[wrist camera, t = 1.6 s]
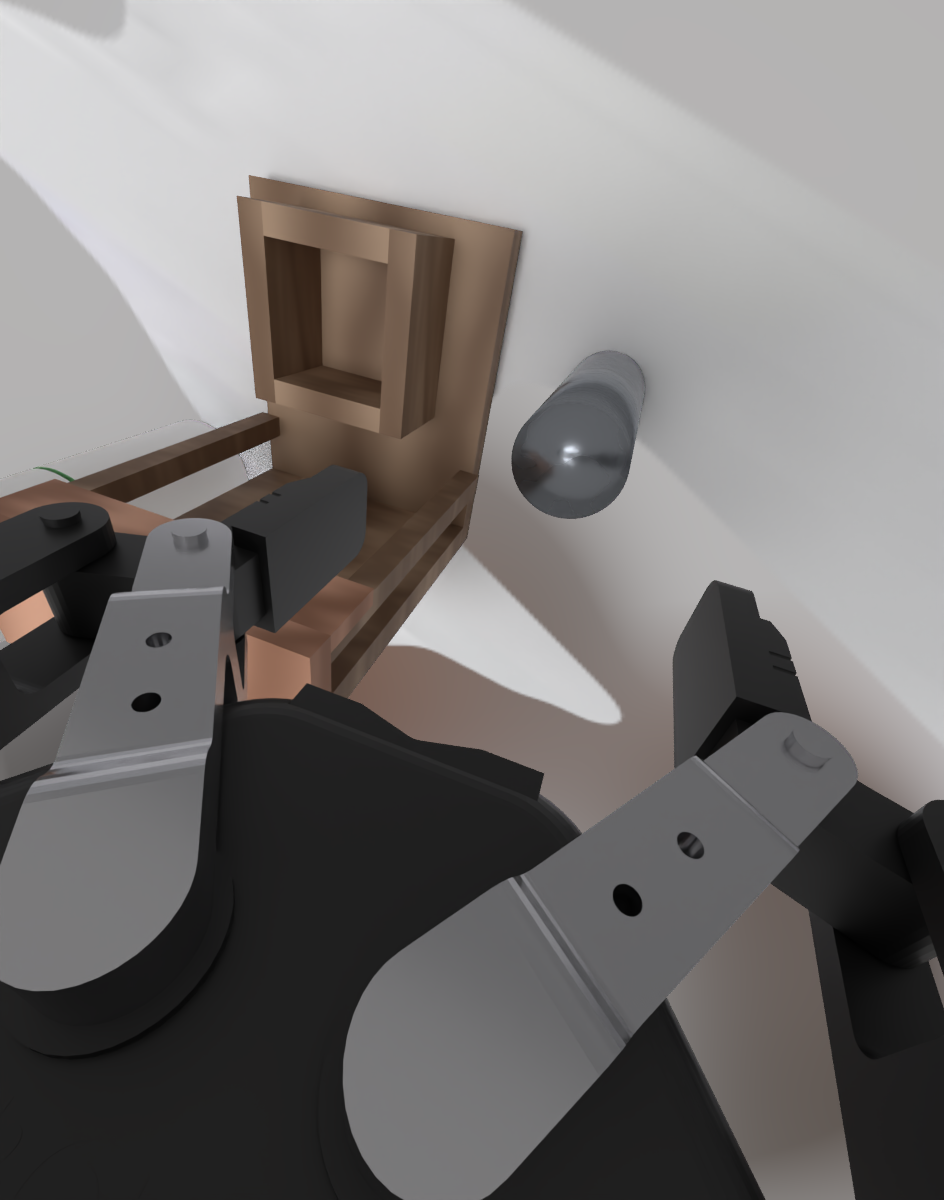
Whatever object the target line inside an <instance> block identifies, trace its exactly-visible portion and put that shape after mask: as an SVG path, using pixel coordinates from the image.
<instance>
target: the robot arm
mask: <svg viewBox="0 0 944 1200" xmlns="http://www.w3.org/2000/svg"><path fill="white" fill-rule="evenodd" d="M366 511H367V478H366V476H365V474H363V473H361V472H358V471H354V470H351V469H348V468H344V467H341V466H338V465H331V466H329V467H327V468H325V469H324V470H322V471H321V472H319V473H317V474H316V475H314V476H312V477H311V478H306V479H302V480H298V481H294V482H290V483H287V484H285V485H283V486H282V487H280V488H278V489H276V490H275V491H273V492H272V494H268V495H266V496H264V497H263V498H261V499H260V501H256V502H254V503H252V504H251V505H249V506H247V507H245V508H244V509H242V510H240V511H239V512H237V513H235V514H233V515H232V516H230V517H228V518H227V519H225V520H223V521H221V522H218V521H215V520H210V519H204V518H186V519H178V520H174V521H170V522H167V523H164V524H162V525H160V526H158V527H156V528H154V529H153V530H152V531H151V532H150V533H149V534H148V536H144V535H136V534H127V533H119V532H114V529H113V526H112V523H111V520H110V516H109V514H108V512H107V511H106V510H105V509H104V508H102V507H100V506H97V505H94V504H90V503H83V502H63V503H54V504H49V505H44V506H40V507H37V508H34V509H31V510H29V511H26V512H24V513H22V514H19V515H17V516H15V517H12V518H10V519H8V520H5V521H3V522H1V523H0V615H1V614H3V613H4V612H6V611H7V610H9V609H11V608H13V607H14V606H16V605H18V604H20V603H21V602H23V601H25V600H27V599H28V598H30V597H32V596H34V595H35V594H37V593H39V592H41V591H42V590H43V593H44V595H45V597H46V599H47V602H48V604H49V606H50V608H51V611H52V613H53V615H54V617H53V618H51V619H49V620H48V621H46V622H45V623H43V624H41V625H40V626H38V627H37V628H35V629H33V630H32V631H30V632H29V633H27V634H26V635H24V636H22V637H21V638H19V639H18V640H16V641H14V642H13V643H11V644H10V645H8V646H7V647H5V648H3V649H2V650H0V750H1V749H2V748H3V747H4V746H6V745H7V744H8V743H9V742H11V741H12V740H13V739H15V738H16V737H17V736H18V735H20V734H21V733H22V732H24V731H25V730H26V729H27V728H29V727H30V726H31V725H33V724H34V723H35V722H36V721H38V720H39V719H40V718H41V717H43V716H44V715H45V714H46V713H48V712H49V711H50V710H51V709H53V708H54V707H55V706H57V705H58V704H59V703H60V702H62V701H63V700H64V699H65V698H67V697H68V696H69V695H71V694H72V693H73V692H74V691H76V690H77V689H78V688H79V690H78V693H77V696H76V699H75V702H74V705H73V708H72V711H71V714H70V717H69V720H68V723H67V726H66V729H65V732H64V735H63V738H62V741H61V744H60V747H59V750H58V753H57V756H56V759H55V761H54V763H52V764H49V765H46V766H43V767H41V768H37V769H34V770H32V771H29V772H26V773H23V774H20V775H17V776H14V777H11V778H8V779H5V780H2V781H0V1200H765V1198H764V1196H763V1194H762V1192H761V1190H760V1188H759V1186H758V1183H757V1181H756V1179H755V1177H754V1175H753V1173H752V1171H751V1169H750V1167H749V1165H748V1163H747V1161H746V1159H745V1157H744V1155H743V1153H742V1151H741V1149H740V1147H739V1145H738V1143H737V1140H736V1138H735V1137H734V1135H733V1132H732V1131H731V1128H730V1127H729V1124H728V1122H727V1120H726V1118H725V1116H724V1114H723V1112H722V1110H721V1108H720V1106H719V1104H718V1102H717V1100H716V1097H715V1095H714V1094H713V1091H712V1089H711V1087H710V1085H709V1083H708V1081H707V1079H706V1077H705V1075H704V1073H703V1071H702V1069H701V1067H700V1065H699V1063H698V1061H697V1059H696V1057H695V1055H694V1053H693V1050H692V1049H691V1046H690V1044H689V1042H688V1040H687V1038H686V1036H685V1034H684V1032H683V1030H682V1028H681V1026H680V1024H679V1022H678V1020H677V1018H676V1016H675V1014H674V1012H673V1010H672V1008H671V1006H670V1003H669V1001H668V999H667V998H666V997H667V996H668V995H669V994H670V993H671V992H672V991H673V990H674V988H676V986H677V985H678V984H679V983H680V982H681V981H682V980H683V979H684V978H685V976H686V975H687V974H688V973H689V972H690V971H691V970H692V969H693V968H694V967H695V965H696V964H697V963H698V962H699V961H700V960H701V959H702V958H703V957H704V956H705V954H706V953H707V952H708V951H709V950H710V949H711V948H712V947H713V946H714V944H715V943H716V942H717V941H718V940H719V939H720V938H721V937H722V936H723V935H724V934H725V932H726V931H727V930H728V929H729V928H730V927H731V926H732V925H733V924H734V923H735V921H736V920H737V919H738V918H739V917H740V916H741V915H742V914H743V913H744V911H745V910H746V909H747V908H748V907H749V906H750V905H751V904H752V903H753V901H755V899H756V898H757V897H758V896H759V895H760V894H761V893H762V892H763V891H764V889H765V888H766V887H767V886H768V885H769V884H770V883H771V884H772V885H773V886H775V887H777V888H778V889H779V890H781V891H782V892H784V893H785V894H787V895H788V896H789V897H791V898H792V899H794V900H795V901H797V902H798V903H799V904H801V905H802V906H804V907H805V908H807V909H808V910H809V916H810V921H811V928H812V934H813V940H814V947H815V952H816V959H817V965H818V971H819V977H820V983H821V990H822V996H823V1002H824V1008H825V1014H826V1021H827V1027H828V1033H829V1039H830V1045H831V1051H832V1057H833V1064H834V1070H835V1076H836V1082H837V1088H838V1094H839V1101H840V1107H841V1113H842V1119H843V1125H844V1132H845V1138H846V1144H847V1150H848V1156H849V1162H850V1169H851V1175H852V1181H853V1187H854V1193H855V1199H856V1200H944V1008H943V1005H942V1002H941V999H940V996H939V993H938V990H937V987H936V983H935V980H934V977H933V974H932V971H931V968H930V965H929V962H928V961H929V960H931V959H933V958H935V957H937V958H938V961H939V963H940V966H941V969H942V972H943V975H944V800H934V801H931V802H929V803H927V804H926V805H924V806H923V807H922V808H921V809H919V810H918V811H917V812H915V813H912V812H911V811H909V810H907V809H905V808H904V807H902V806H900V805H898V804H897V803H895V802H893V801H891V800H890V799H888V798H886V797H884V796H883V795H881V794H879V793H877V792H875V791H874V790H872V789H870V788H869V787H867V786H865V785H864V784H862V783H861V782H859V781H858V780H857V778H858V772H857V768H856V764H855V762H854V760H853V758H852V757H851V755H850V754H849V752H848V751H847V750H846V748H845V747H844V746H843V745H842V744H841V743H840V742H839V741H838V740H837V739H836V738H835V737H834V736H832V735H831V734H830V733H829V732H827V731H826V730H825V729H823V728H822V727H820V726H818V725H817V724H815V723H813V722H812V721H811V718H810V714H809V711H808V708H807V705H806V702H805V698H804V695H803V692H802V689H801V686H800V683H799V680H798V677H797V676H795V675H796V670H795V667H794V664H793V662H792V661H791V654H790V651H789V648H788V645H787V642H786V640H785V639H784V637H783V636H782V635H781V634H780V632H779V631H778V630H777V629H776V628H775V627H774V625H773V624H772V623H771V622H770V621H767V620H763V619H761V618H760V616H759V612H758V609H757V605H756V601H755V597H754V594H753V592H752V591H750V590H746V589H743V588H740V587H736V586H733V585H729V584H726V583H723V582H719V581H715V580H714V581H713V582H711V584H710V585H709V586H708V587H707V589H706V591H705V592H704V594H703V596H702V598H701V600H700V601H699V603H698V605H697V607H696V609H695V610H694V612H693V614H692V616H691V618H690V619H689V621H688V623H687V625H686V627H685V629H684V630H683V632H682V634H681V636H680V638H679V640H678V642H677V645H676V648H675V652H674V656H673V708H674V767H675V769H674V770H672V771H671V772H669V773H668V774H667V775H665V776H664V777H662V778H661V779H660V780H658V781H657V782H655V783H654V784H652V785H651V786H650V787H648V788H647V789H645V790H644V791H642V792H641V793H640V794H638V795H637V796H636V797H634V798H633V799H631V800H630V801H628V802H627V803H625V804H624V805H623V806H621V807H620V808H618V809H617V810H616V811H614V812H613V813H611V814H610V815H608V816H607V817H606V818H604V819H603V820H601V821H600V822H598V823H597V824H596V825H594V826H593V827H591V828H590V829H588V830H587V831H586V832H584V833H583V834H582V833H581V832H580V830H579V829H578V828H577V827H576V825H575V824H574V823H573V822H572V821H571V820H570V819H569V818H568V817H567V816H566V815H565V814H564V813H563V812H562V811H561V810H560V809H559V808H558V807H556V806H555V805H554V804H553V803H552V802H551V801H549V800H548V799H546V798H545V797H543V796H542V795H540V794H539V793H540V788H541V784H542V780H543V776H544V773H542V772H539V771H536V770H534V769H531V768H528V767H526V766H523V765H520V764H518V763H515V762H513V761H510V760H507V759H505V758H502V757H500V756H497V755H494V754H492V753H489V752H486V751H483V750H480V749H472V748H466V747H460V746H453V745H446V744H439V743H433V742H426V741H420V740H416V739H413V738H411V737H409V736H407V735H406V734H405V733H403V732H402V731H400V730H399V729H397V728H396V727H394V726H393V725H392V724H390V723H388V722H387V721H386V720H384V719H383V718H381V717H380V716H378V715H377V714H376V713H374V712H373V711H371V710H370V709H368V708H367V707H365V706H364V705H362V704H361V703H358V702H355V701H353V700H350V699H347V698H345V697H342V696H340V695H337V694H334V693H332V692H329V691H326V690H324V689H321V688H319V687H316V686H313V685H311V684H308V683H306V684H305V686H304V687H303V688H302V689H301V690H300V692H299V693H298V694H297V695H296V696H295V697H294V699H284V698H262V699H252V700H247V667H248V642H247V635H246V632H247V631H248V630H249V629H250V628H251V627H252V626H256V627H259V628H262V629H264V630H267V631H270V632H272V633H276V632H277V631H278V630H279V629H280V628H281V627H282V626H284V625H285V624H286V623H287V622H288V621H289V620H290V619H291V618H292V617H293V616H294V615H295V614H296V613H297V612H298V611H299V610H300V609H301V608H303V607H304V606H305V605H306V604H307V603H308V602H309V601H310V600H311V599H312V598H313V597H314V596H315V595H316V594H317V593H318V592H319V591H320V590H322V589H323V588H324V587H325V586H326V585H327V584H328V583H329V582H330V581H331V580H332V579H333V578H334V577H335V576H336V575H337V574H338V573H339V572H340V571H342V570H343V569H344V568H345V567H346V566H347V565H348V564H349V563H350V562H351V561H352V560H353V559H354V558H355V557H356V556H357V555H358V554H359V552H360V550H361V548H362V546H363V543H364V539H365V534H366Z"/></svg>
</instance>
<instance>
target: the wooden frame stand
mask: <svg viewBox="0 0 944 1200" xmlns="http://www.w3.org/2000/svg"><path fill="white" fill-rule="evenodd" d="M249 185H250V197H251V198H247V197H241V196H237V203H238V214H239V224H240V235H241V246H242V256H243V267H244V277H245V288H246V298H247V309H248V319H249V330H250V340H251V351H252V361H253V372H254V383H255V393H256V398H259V399H262V400H266V401H267V405H268V414H267V413H264V412H262V413H259V414H257V415H254V416H251V417H248V418H245V419H243V420H240V421H237V422H234V423H232V424H229V425H226V426H223V427H221V428H218V429H215V430H212V431H210V432H207V433H204V434H201V435H198V436H196V437H193V438H190V439H187V440H185V441H182V442H179V443H176V444H174V445H171V446H168V447H165V448H163V449H160V450H157V451H154V452H151V453H149V454H146V455H143V456H140V457H138V458H135V459H132V460H129V461H127V462H124V463H121V464H118V465H115V466H113V467H110V468H107V469H104V470H102V471H99V472H96V473H93V474H91V475H88V476H85V477H82V478H80V479H77V480H74V481H71V482H68V483H66V482H63V481H60V480H57V479H53V480H50V481H47V482H44V483H41V484H38V485H35V486H32V487H30V488H27V489H24V490H21V491H18V492H15V493H12V494H9V495H7V496H4V497H1V498H0V523H1V522H3V521H5V520H8V519H10V518H12V517H15V516H17V515H19V514H22V513H24V512H26V511H29V510H31V509H34V508H37V507H40V506H44V505H49V504H54V503H63V502H83V503H90V504H94V505H97V506H100V507H102V508H104V509H105V510H106V511H107V512H108V514H109V516H110V520H111V523H112V526H113V529H114V532H119V533H127V534H136V535H144V536H148V534H149V533H150V532H151V531H152V530H153V529H154V528H156V527H158V526H160V525H162V524H164V523H167V522H170V521H174V520H178V519H186V518H204V519H210V520H215V521H218V522H221V521H223V520H225V519H227V518H228V517H230V516H232V515H233V514H235V513H237V512H239V511H240V510H242V509H244V508H245V507H247V506H249V505H251V504H252V503H254V502H256V501H260V499H261V498H263V497H264V496H266V495H268V494H272V492H273V491H275V490H276V489H278V488H280V487H282V486H283V485H285V484H287V483H290V482H294V481H298V480H302V479H306V478H311V477H312V476H314V475H316V474H317V473H319V472H321V471H322V470H324V469H325V468H327V467H329V466H331V465H338V466H341V467H344V468H348V469H351V470H354V471H358V472H361V473H363V474H365V476H366V478H367V511H366V534H365V539H364V543H363V546H362V548H361V550H360V552H359V554H358V555H357V556H356V557H355V558H354V559H353V560H352V561H351V562H350V563H349V564H348V565H347V566H346V567H345V568H344V569H343V570H342V571H340V572H339V573H338V574H337V575H336V576H335V577H334V578H333V579H332V580H331V581H330V582H329V583H328V584H327V585H326V586H325V587H324V588H323V589H322V590H320V591H319V592H318V593H317V594H316V595H315V596H314V597H313V598H312V599H311V600H310V601H309V602H308V603H307V604H306V605H305V606H304V607H303V608H301V609H300V610H299V611H298V612H297V613H296V614H295V615H294V616H293V617H292V618H291V619H290V620H289V621H288V622H287V623H286V624H285V625H284V626H282V627H281V628H280V629H279V630H278V631H277V632H276V633H272V632H270V631H267V630H264V629H262V628H259V627H256V626H252V627H251V628H250V629H249V630H248V631H247V632H246V635H247V642H248V667H247V700H252V699H262V698H284V699H294V697H295V696H296V695H297V694H298V693H299V692H300V690H301V689H302V688H303V687H304V686H305V684H306V683H308V684H311V685H313V686H316V687H319V688H321V689H324V690H326V691H329V692H332V693H334V694H337V695H340V696H342V697H345V698H348V697H349V696H350V694H351V693H352V692H353V690H354V689H355V688H356V686H357V685H358V684H359V682H360V681H361V680H362V678H363V677H364V676H365V674H366V673H367V672H368V670H369V669H370V667H371V666H372V665H373V663H374V662H375V661H376V659H377V658H378V657H379V655H380V654H381V653H382V651H383V650H384V649H385V647H386V646H387V645H388V643H389V642H390V641H391V639H392V638H393V637H394V635H395V634H396V633H397V631H398V630H399V629H400V627H401V626H402V625H403V623H404V622H405V621H406V619H407V618H408V616H409V615H410V614H411V612H412V611H413V610H414V608H415V607H416V606H417V604H418V603H419V602H420V600H421V599H422V598H423V596H424V595H425V594H426V592H427V591H428V590H429V588H430V587H431V586H432V584H433V583H434V582H435V580H436V579H437V578H438V576H439V575H440V574H441V572H442V571H443V569H444V568H445V567H446V565H447V564H448V563H449V561H450V560H451V559H452V557H453V556H454V555H455V553H456V552H457V551H458V549H459V548H460V547H461V545H462V544H463V543H464V541H465V540H466V538H467V535H468V530H469V524H470V518H471V513H472V508H473V502H474V497H475V494H476V488H477V483H478V477H479V475H478V474H479V469H480V463H481V457H482V453H483V447H484V442H485V436H486V430H487V425H488V419H489V413H490V408H491V403H492V397H493V392H494V386H495V381H496V375H497V370H498V364H499V359H500V353H501V348H502V342H503V337H504V331H505V326H506V320H507V315H508V309H509V304H510V298H511V293H512V287H513V282H514V276H515V271H516V265H517V260H518V254H519V249H520V243H521V238H522V232H523V231H519V230H514V229H509V228H504V227H500V226H495V225H490V224H485V223H480V222H475V221H470V220H465V219H461V218H456V217H451V216H446V215H441V214H436V213H431V212H426V211H422V210H417V209H412V208H407V207H402V206H397V205H392V204H387V203H383V202H378V201H373V200H368V199H363V198H358V197H353V196H348V195H344V194H339V193H334V192H329V191H324V190H319V189H314V188H309V187H305V186H300V185H295V184H290V183H285V182H280V181H275V180H270V179H266V178H261V177H256V176H251V175H249ZM269 440H270V441H271V453H272V466H273V468H272V469H270V470H268V471H267V472H265V473H263V474H261V475H259V476H257V477H255V478H253V479H251V480H249V481H247V482H245V483H243V484H241V485H239V486H237V487H235V488H233V489H231V490H229V491H227V492H225V493H224V494H222V495H220V496H218V497H216V498H214V499H212V500H210V501H208V502H206V503H204V504H202V505H200V506H198V507H196V508H194V509H192V510H190V511H188V512H186V513H184V514H182V515H181V516H179V517H177V518H175V519H170V518H167V517H165V516H162V515H159V514H156V513H153V512H150V511H147V510H144V509H141V508H138V507H135V506H133V505H130V504H127V502H130V501H132V500H134V499H136V498H139V497H141V496H143V495H146V494H148V493H150V492H152V491H155V490H157V489H159V488H162V487H164V486H166V485H168V484H171V483H173V482H175V481H178V480H180V479H182V478H184V477H187V476H189V475H191V474H194V473H196V472H198V471H200V470H203V469H205V468H207V467H210V466H212V465H214V464H216V463H219V462H221V461H223V460H226V459H228V458H230V457H232V456H235V455H237V454H239V453H242V452H244V451H246V450H248V449H251V448H253V447H255V446H258V445H260V444H262V443H264V442H267V441H269ZM53 617H54V615H53V613H52V611H51V608H50V606H49V604H48V602H47V599H46V597H45V595H44V593H43V590H42V591H41V592H39V593H37V594H35V595H34V596H32V597H30V598H28V599H27V600H25V601H23V602H21V603H20V604H18V605H16V606H14V607H13V608H11V609H9V610H7V611H6V612H4V613H3V614H1V615H0V630H1V632H2V633H3V635H4V637H5V639H6V641H7V642H9V643H13V642H14V641H16V640H18V639H19V638H21V637H22V636H24V635H26V634H27V633H29V632H30V631H32V630H33V629H35V628H37V627H38V626H40V625H41V624H43V623H45V622H46V621H48V620H49V619H51V618H53Z"/></svg>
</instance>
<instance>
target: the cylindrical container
mask: <svg viewBox="0 0 944 1200" xmlns="http://www.w3.org/2000/svg"><path fill="white" fill-rule="evenodd" d="M212 430H215V428H213V427H212V426H210V425H208V424H207V423H204V422H201V421H198V420H191V419H190V420H183V421H180V422H176V423H173V424H170V425H167V426H164V427H161V428H158V429H154V430H151V431H148V432H145V433H142V434H139V435H136V436H133V437H130V438H126V439H123V440H120V441H117V442H114V443H111V444H108V445H104V446H101V447H98V448H95V449H92V450H89V451H86V452H83V453H79V454H76V455H73V456H70V457H67V458H64V459H61V460H57V461H54V462H51V463H48V464H45V465H42V466H39V467H36V468H33V469H29V470H26V471H23V472H20V473H17V474H14V475H10V476H7V477H4V478H1V479H0V498H1V497H4V496H7V495H9V494H12V493H15V492H18V491H21V490H24V489H27V488H30V487H32V486H35V485H38V484H41V483H44V482H47V481H50V480H53V479H57V480H60V481H63V482H66V483H68V482H71V481H74V480H77V479H80V478H82V477H85V476H88V475H91V474H93V473H96V472H99V471H102V470H104V469H107V468H110V467H113V466H115V465H118V464H121V463H124V462H127V461H129V460H132V459H135V458H138V457H140V456H143V455H146V454H149V453H151V452H154V451H157V450H160V449H163V448H165V447H168V446H171V445H174V444H176V443H179V442H182V441H185V440H187V439H190V438H193V437H196V436H198V435H201V434H204V433H207V432H210V431H212ZM247 481H248V477H247V473H246V469H245V466H244V464H243V461H242V459H241V458H240V456H239V454H237V455H235V456H232V457H230V458H228V459H226V460H223V461H221V462H219V463H216V464H214V465H212V466H210V467H207V468H205V469H203V470H200V471H198V472H196V473H194V474H191V475H189V476H187V477H184V478H182V479H180V480H178V481H175V482H173V483H171V484H168V485H166V486H164V487H162V488H159V489H157V490H155V491H152V492H150V493H148V494H146V495H143V496H141V497H139V498H136V499H134V500H132V501H130V502H127V504H130V505H133V506H135V507H138V508H141V509H144V510H147V511H150V512H153V513H156V514H159V515H162V516H165V517H167V518H170V519H175V518H177V517H179V516H181V515H182V514H184V513H186V512H188V511H190V510H192V509H194V508H196V507H198V506H200V505H202V504H204V503H206V502H208V501H210V500H212V499H214V498H216V497H218V496H220V495H222V494H224V493H225V492H227V491H229V490H231V489H233V488H235V487H237V486H239V485H241V484H243V483H245V482H247ZM4 640H6V639H5V637H4V635H3V633H2V632H1V630H0V643H1V642H2V641H4Z"/></svg>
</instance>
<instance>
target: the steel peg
mask: <svg viewBox="0 0 944 1200" xmlns="http://www.w3.org/2000/svg"><path fill="white" fill-rule="evenodd" d="M644 394H645V381H644V377H643V374H642V371H641V369H640V368H639V366H638V365H637V363H636V362H635V361H634V360H633V359H632V358H630V357H629V356H627V355H625V354H623V353H620V352H617V351H602V352H598V353H595V354H593V355H591V356H589V357H587V358H586V359H585V360H583V361H582V362H581V363H580V364H579V365H578V366H577V367H576V368H575V369H574V371H573V372H572V373H571V374H570V375H569V376H568V377H567V378H566V379H565V380H564V381H563V383H562V384H561V385H560V386H559V387H558V388H557V389H556V390H555V391H554V392H553V393H552V395H551V396H550V397H549V398H548V399H547V400H546V401H545V402H544V403H543V404H542V406H541V407H540V408H539V409H538V410H537V411H536V412H535V413H534V414H533V415H532V416H531V418H530V419H529V420H528V421H527V422H526V423H525V424H524V426H523V427H522V428H521V430H520V432H519V433H518V435H517V438H516V440H515V443H514V446H513V450H512V471H513V475H514V479H515V481H516V484H517V486H518V488H519V490H520V491H521V493H522V494H523V496H524V497H525V498H526V499H527V500H528V501H529V502H530V503H531V504H532V505H533V506H534V507H536V508H537V509H539V510H540V511H542V512H544V513H546V514H549V515H551V516H555V517H559V518H567V519H576V518H583V517H586V516H590V515H593V514H595V513H597V512H599V511H601V510H603V509H604V508H605V507H607V506H608V505H609V504H611V503H612V502H613V501H614V500H615V498H616V497H617V496H618V495H619V494H620V492H621V490H622V489H623V487H624V485H625V482H626V480H627V477H628V474H629V469H630V464H631V459H632V454H633V449H634V444H635V439H636V434H637V429H638V424H639V419H640V414H641V409H642V404H643V399H644Z"/></svg>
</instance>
